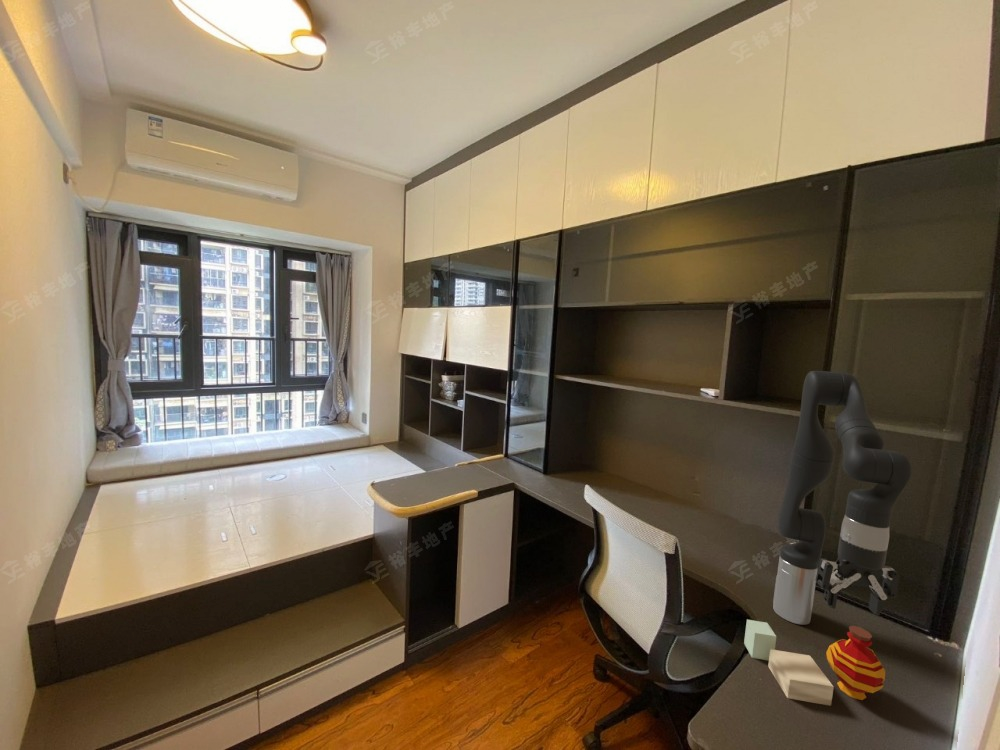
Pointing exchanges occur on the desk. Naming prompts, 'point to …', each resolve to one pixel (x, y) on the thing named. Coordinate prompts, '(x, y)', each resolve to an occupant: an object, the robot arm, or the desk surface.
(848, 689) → the potion bottle
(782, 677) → the beech base
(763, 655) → the green block
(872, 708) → the desk surface
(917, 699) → the desk surface
